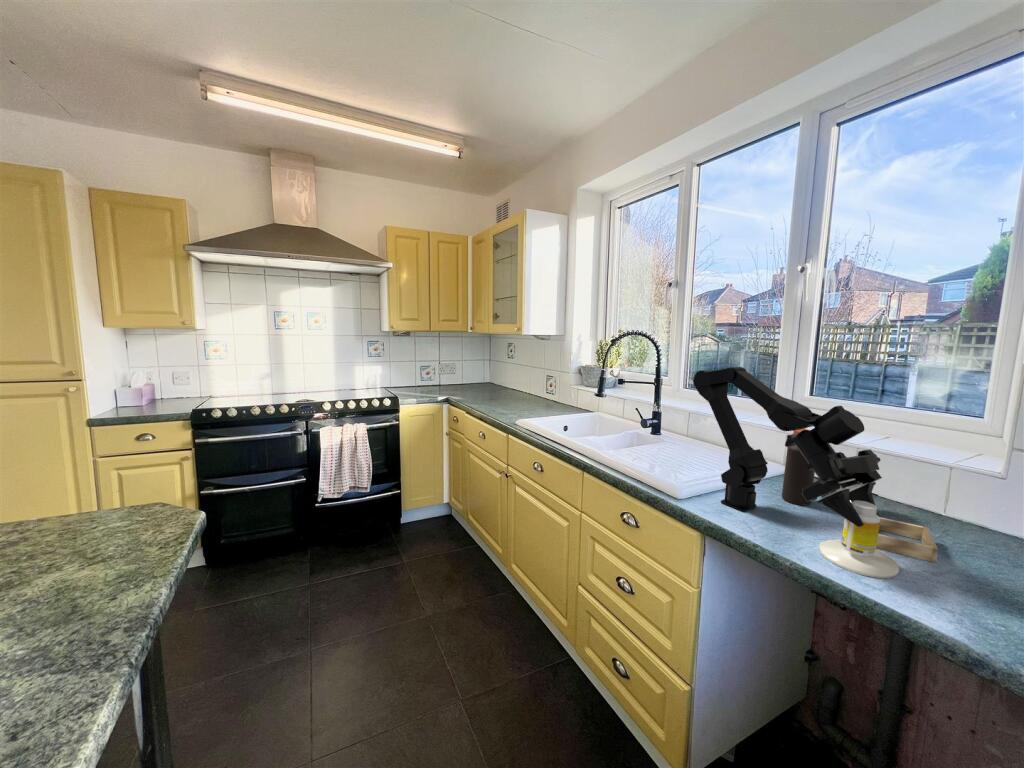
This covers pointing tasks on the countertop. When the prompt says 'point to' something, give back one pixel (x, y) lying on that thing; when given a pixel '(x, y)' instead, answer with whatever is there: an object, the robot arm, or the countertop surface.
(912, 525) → the bin frame
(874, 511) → the supplement bottle
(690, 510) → the countertop surface
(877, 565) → the plate
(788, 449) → the vinegar
